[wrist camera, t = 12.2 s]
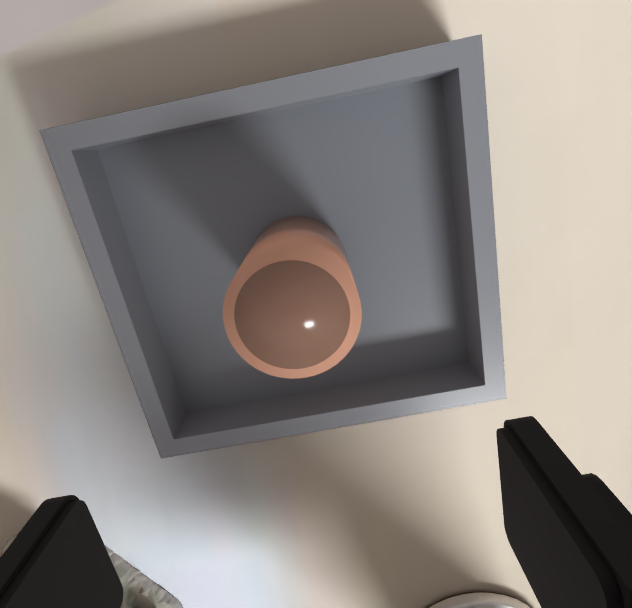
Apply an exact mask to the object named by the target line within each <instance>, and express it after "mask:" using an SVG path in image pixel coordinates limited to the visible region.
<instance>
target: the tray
mask: <svg viewBox="0 0 632 608" xmlns="http://www.w3.org/2000/svg"><path fill="white" fill-rule="evenodd" d="M40 133H41V136H42V138H43V141H44V144H45V146H46V149H47V152H48V154H49V157H50V160H51V163H52V165H53V168H54V171H55V173H56V176H57V179H58V181H59V184H60V187H61V190H62V192H63V195H64V198H65V200H66V203H67V206H68V208H69V211H70V214H71V217H72V219H73V222H74V225H75V227H76V230H77V233H78V235H79V238H80V241H81V244H82V246H83V249H84V252H85V254H86V257H87V260H88V262H89V265H90V268H91V271H92V273H93V276H94V279H95V281H96V284H97V287H98V290H99V292H100V295H101V298H102V300H103V303H104V306H105V308H106V311H107V314H108V317H109V319H110V322H111V325H112V327H113V330H114V333H115V335H116V338H117V341H118V344H119V346H120V349H121V352H122V354H123V357H124V360H125V362H126V365H127V368H128V371H129V373H130V376H131V379H132V381H133V384H134V387H135V389H136V392H137V395H138V398H139V400H140V403H141V406H142V408H143V411H144V414H145V416H146V419H147V422H148V425H149V427H150V430H151V433H152V435H153V438H154V441H155V444H156V446H157V449H158V452H159V454H160V457H161V458H166V457H172V456H177V455H183V454H189V453H195V452H201V451H206V450H212V449H218V448H224V447H230V446H235V445H241V444H247V443H253V442H259V441H264V440H270V439H276V438H282V437H288V436H293V435H299V434H305V433H311V432H317V431H322V430H328V429H334V428H340V427H345V426H351V425H357V424H363V423H369V422H374V421H380V420H386V419H392V418H398V417H403V416H409V415H415V414H421V413H427V412H432V411H438V410H444V409H450V408H456V407H461V406H467V405H473V404H479V403H485V402H490V401H496V400H502V399H506V386H505V371H504V356H503V341H502V327H501V312H500V297H499V282H498V267H497V253H496V238H495V223H494V208H493V194H492V179H491V164H490V149H489V135H488V120H487V105H486V90H485V76H484V61H483V46H482V34H481V35H476V36H471V37H467V38H462V39H458V40H453V41H448V42H444V43H439V44H435V45H430V46H425V47H421V48H416V49H412V50H407V51H402V52H398V53H393V54H389V55H384V56H379V57H375V58H370V59H366V60H361V61H356V62H352V63H347V64H343V65H338V66H333V67H329V68H324V69H320V70H315V71H310V72H306V73H301V74H297V75H292V76H287V77H283V78H278V79H274V80H269V81H264V82H260V83H255V84H251V85H246V86H241V87H237V88H232V89H228V90H223V91H218V92H214V93H209V94H205V95H200V96H195V97H191V98H186V99H182V100H177V101H172V102H168V103H163V104H159V105H154V106H149V107H145V108H140V109H136V110H131V111H126V112H122V113H117V114H113V115H108V116H103V117H99V118H94V119H90V120H85V121H80V122H76V123H71V124H67V125H62V126H57V127H53V128H48V129H44V130H40ZM292 216H304V217H309V218H313V219H316V220H318V221H320V222H322V223H324V224H326V225H327V226H328V227H329V228H331V229H332V230H333V231H334V232H335V233H336V235H337V236H338V237H339V239H340V241H341V242H342V244H343V247H344V249H345V253H346V256H347V259H348V262H349V265H350V269H351V272H352V275H353V278H354V281H355V285H356V288H357V291H358V294H359V298H360V302H361V309H362V321H361V327H360V331H359V334H358V337H357V339H356V341H355V343H354V345H353V347H352V348H351V350H350V351H349V352H348V354H347V355H346V356H345V357H344V358H343V359H342V360H341V361H340V362H339V363H338V364H336V365H335V366H333V367H332V368H330V369H328V370H326V371H325V372H323V373H320V374H317V375H314V376H310V377H306V378H293V379H289V378H280V377H276V376H272V375H269V374H266V373H264V372H262V371H260V370H258V369H256V368H254V367H253V366H251V365H250V364H248V363H247V362H246V361H245V360H244V359H243V358H242V357H241V356H240V355H239V354H238V353H237V352H236V350H235V349H234V347H233V346H232V344H231V342H230V341H229V339H228V336H227V334H226V331H225V327H224V322H223V303H224V298H225V295H226V292H227V289H228V287H229V285H230V283H231V281H232V279H233V278H234V276H235V274H236V273H237V271H238V269H239V267H240V266H241V264H242V262H243V261H244V259H245V257H246V256H247V254H248V252H249V250H250V249H251V247H252V245H253V244H254V242H255V240H256V239H257V237H258V236H259V234H260V233H261V232H262V231H263V230H264V229H265V228H266V227H267V226H269V225H270V224H272V223H273V222H275V221H277V220H280V219H282V218H286V217H292Z"/></svg>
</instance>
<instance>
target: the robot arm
mask: <svg viewBox="0 0 632 608" xmlns="http://www.w3.org/2000/svg"><path fill="white" fill-rule="evenodd" d="M497 446H498V457H499V469H500V480H501V492H502V503H503V515H504V525H505V531H506V534H507V538H508V540H509V543H510V545H511V547H512V549H513V551H514V553H515V555H516V557H517V559H518V561H519V563H520V565H521V567H522V569H523V571H524V573H525V575H526V577H527V579H528V581H529V583H530V585H531V587H532V589H533V591H534V593H535V595H536V597H537V599H538V601H539V603H540V605H541V607H542V608H632V514H631V513H630V512H629V511H628V510H627V509H626V507H625V506H624V505H623V504H622V503H621V502H620V501H619V499H618V498H617V497H616V496H615V495H614V494H613V493H612V491H611V490H610V489H609V488H608V487H607V486H606V485H605V483H604V482H603V481H602V480H601V479H600V478H599V477H598V476H596V475H594V474H592V473H590V474H584V475H581V473H580V472H579V471H578V470H577V468H576V467H575V466H574V465H573V464H572V462H571V461H570V460H569V459H568V458H567V456H566V455H565V454H564V453H563V451H562V450H561V449H560V448H559V447H558V445H557V444H556V443H555V442H554V441H553V439H552V438H551V437H550V436H549V434H548V433H547V432H546V431H545V430H544V428H543V427H542V426H541V425H540V424H539V422H538V421H537V420H536V419H535V418H534V417H532V416H529V417H523V418H517V419H511V420H506V421H505V422H504V428H500V429H497ZM122 602H123V586H122V583H121V581H120V579H119V577H118V575H117V572H116V570H115V568H114V566H113V563H112V561H111V559H110V557H109V554H108V552H107V550H106V548H105V545H104V543H103V541H102V539H101V536H100V534H99V532H98V530H97V528H96V525H95V523H94V521H93V519H92V516H91V514H90V512H89V510H88V507H87V505H86V504H85V502H84V501H82V500H79V499H78V497H76V496H75V495H68V496H62V497H56V498H51V499H47V500H45V501H44V502H43V503H42V504H41V505H40V506H39V508H38V509H37V510H36V512H35V513H34V514H33V516H32V517H31V518H30V519H29V521H28V522H27V523H26V525H25V526H24V527H23V529H22V530H21V531H20V532H19V534H18V535H17V536H16V538H15V539H14V540H13V541H12V543H11V544H10V545H9V547H8V548H7V549H6V551H5V552H4V553H3V554H2V556H1V557H0V608H120V607H121V605H122ZM429 608H530V607H529V606H528V605H526V604H524V603H523V602H521V601H519V600H517V599H514V598H511V597H509V596H506V595H501V594H495V593H478V592H477V593H469V594H462V595H458V596H454V597H450V598H448V599H445V600H443V601H440V602H438V603H436V604H434V605H433V606H431V607H429Z"/></svg>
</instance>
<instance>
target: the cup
mask: <svg viewBox="0 0 632 608" xmlns="http://www.w3.org/2000/svg"><path fill="white" fill-rule="evenodd" d="M361 321H362V309H361V302H360V298H359V294H358V291H357V288H356V285H355V281H354V278H353V275H352V272H351V269H350V265H349V262H348V259H347V256H346V253H345V249H344V247H343V244H342V242H341V241H340V239H339V237H338V236H337V235H336V233H335V232H334V231H333V230H332V229H331V228H329V227H328V226H327V225H326V224H324V223H322V222H320V221H318V220H316V219H313V218H309V217H304V216H292V217H286V218H282V219H280V220H277V221H275V222H273V223H272V224H270V225H269V226H267V227H266V228H265V229H264V230H263V231H262V232H261V233H260V234H259V236H258V237H257V239H256V240H255V242H254V244H253V245H252V247H251V249H250V250H249V252H248V254H247V256H246V257H245V259H244V261H243V262H242V264H241V266H240V267H239V269H238V271H237V273H236V274H235V276H234V278H233V279H232V281H231V283H230V285H229V287H228V289H227V292H226V295H225V298H224V303H223V322H224V327H225V331H226V334H227V336H228V339H229V341H230V342H231V344H232V346H233V347H234V349H235V350H236V352H237V353H238V354H239V355H240V356H241V357H242V358H243V359H244V360H245V361H246V362H247V363H248V364H250V365H251V366H253V367H254V368H256V369H258V370H260V371H262V372H264V373H266V374H269V375H272V376H276V377H280V378H289V379H293V378H306V377H310V376H314V375H317V374H320V373H323V372H325V371H326V370H328V369H330V368H332V367H333V366H335V365H336V364H338V363H339V362H340V361H341V360H342V359H343V358H344V357H345V356H346V355H347V354H348V352H349V351H350V350H351V348H352V347H353V345H354V343H355V341H356V339H357V337H358V334H359V331H360V327H361Z"/></svg>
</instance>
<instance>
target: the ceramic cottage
mask: <svg viewBox="0 0 632 608" xmlns="http://www.w3.org/2000/svg"><path fill="white" fill-rule="evenodd" d="M16 536H17V535H16ZM16 536H14V537H12V538H11V539H9V541H8V542H7V544H6V545H5V547H4V549H3V552H2V554H3V553H4V552H5V551H6V549H7V548H8V547H9V545H10V544H11V543H12V541H13V540H14V539H15V538H16ZM105 548H106V550H107V552H108V554H109V557H110V559H111V561H112V563H113V566H114V568H115V570H116V572H117V575H118V577H119V579H120V581H121V583H122V586H123V602H122V605H121V607H120V608H183V607H182V604H181V603H180V601H179V600H178V599H177V598H175V597H174V596H173V597H172V594H169V593H168V592H167V591H166V590H164V589H163V588H161V586H158V584H157V583H154V582H153V580H151V579H150V578H148V577H147V576H146V575H144V574H142V573H141V572H140V570H138V569H135V568H134V567H133V566H132V567H131V565H130V564H129V563H126V561H125V560H124V559H123V558H121V557H120V556H119V555H117V554H116V553H114V552H113V551H112V550H110V549H109V548H108V547H106V546H105Z"/></svg>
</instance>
